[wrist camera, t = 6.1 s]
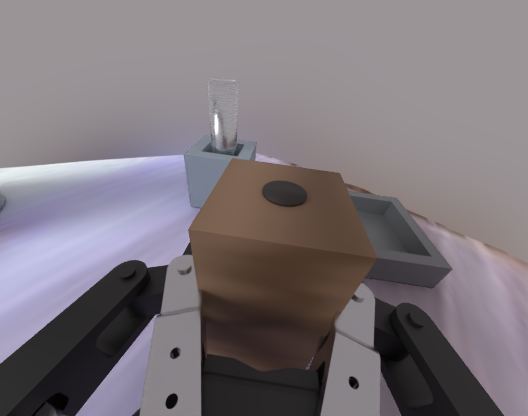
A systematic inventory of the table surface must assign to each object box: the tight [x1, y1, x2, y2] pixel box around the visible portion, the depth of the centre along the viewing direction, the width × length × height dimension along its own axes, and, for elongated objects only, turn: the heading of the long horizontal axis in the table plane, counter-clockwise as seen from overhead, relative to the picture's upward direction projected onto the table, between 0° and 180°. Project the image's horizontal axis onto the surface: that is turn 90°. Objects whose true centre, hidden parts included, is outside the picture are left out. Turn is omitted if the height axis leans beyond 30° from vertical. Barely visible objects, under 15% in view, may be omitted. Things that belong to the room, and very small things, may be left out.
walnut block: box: [188, 158, 377, 372], centre depth 10 cm, size 5×5×10 cm
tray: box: [348, 191, 452, 288], centre depth 20 cm, size 12×10×2 cm
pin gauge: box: [208, 78, 238, 156], centre depth 21 cm, size 3×3×12 cm
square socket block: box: [184, 136, 257, 208], centre depth 23 cm, size 6×6×6 cm
